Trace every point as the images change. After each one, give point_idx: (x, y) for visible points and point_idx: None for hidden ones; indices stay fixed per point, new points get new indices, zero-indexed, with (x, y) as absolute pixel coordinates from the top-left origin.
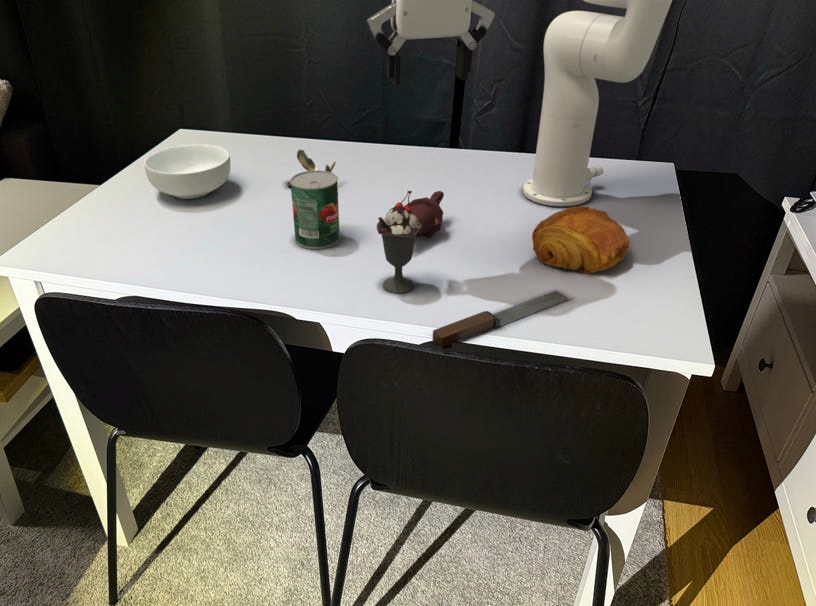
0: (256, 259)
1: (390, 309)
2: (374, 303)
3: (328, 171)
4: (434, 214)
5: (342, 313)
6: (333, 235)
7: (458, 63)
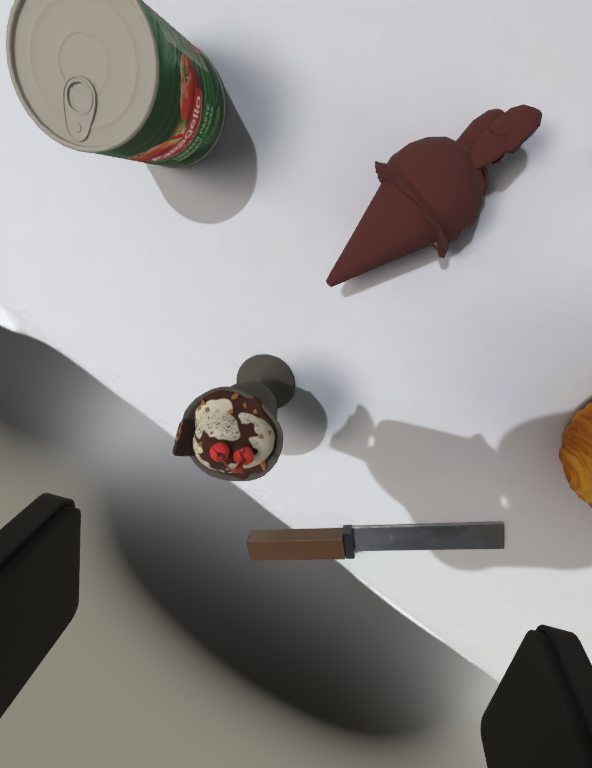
0: (29, 151)
1: None
2: None
3: None
4: (435, 239)
5: (150, 415)
6: (190, 158)
7: (547, 751)
